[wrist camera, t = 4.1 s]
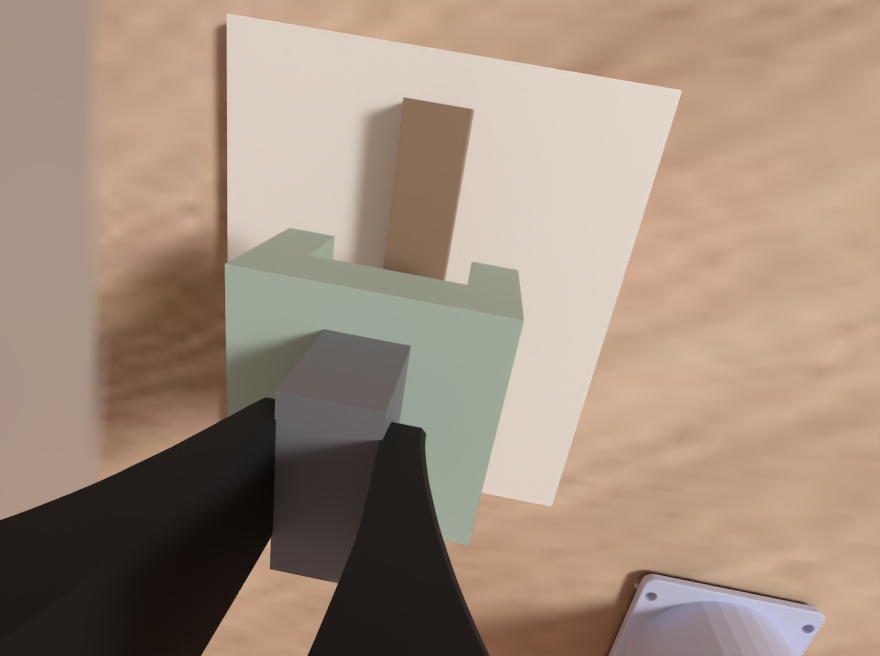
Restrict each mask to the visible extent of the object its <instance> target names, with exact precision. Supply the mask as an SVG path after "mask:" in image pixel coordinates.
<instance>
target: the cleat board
mask: <svg viewBox="0 0 880 656" xmlns="http://www.w3.org/2000/svg"><path fill="white" fill-rule="evenodd" d="M681 93H682V90H677V89H671V88H665V87H659V86H653V85H647V84H641V83H636V82H630V81H624V80H618V79H612V78H606V77H600V76H594V75H588V74H582V73H576V72H570V71H565V70H559V69H553V68H547V67H541V66H535V65H529V64H523V63H517V62H511V61H505V60H499V59H494V58H488V57H482V56H476V55H470V54H464V53H458V52H452V51H446V50H440V49H434V48H429V47H423V46H417V45H411V44H405V43H399V42H393V41H387V40H381V39H375V38H369V37H363V36H358V35H352V34H346V33H340V32H334V31H328V30H322V29H316V28H310V27H304V26H298V25H292V24H287V23H281V22H275V21H269V20H263V19H257V18H251V17H245V16H239V15H233V14H227V235H228V262H229V261H231V260H233V259H235V258H236V257H238V256H240V255H242V254H243V253H245V252H247V251H249V250H251V249H252V248H254V247H256V246H258V245H260V244H261V243H263V242H265V241H267V240H269V239H270V238H272V237H274V236H276V235H278V234H279V233H281V232H283V231H285V230H287V229H288V228H293V229H299V230H304V231H309V232H315V233H320V234H326V235H331V236H335V239H334V252H333V260H337V261H343V262H348V263H354V264H359V265H364V266H370V267H375V268H380V269H386V270H391V271H396V272H402V273H407V274H412V275H418V276H423V277H428V278H434V279H439V280H444V281H450V282H455V283H461V284H466V285H467V284H468V279H469V273H470V268H471V263H472V262H477V263H482V264H488V265H493V266H498V267H504V268H509V269H515V270H518V274H519V282H520V291H521V299H522V307H523V316H524V323H523V327H522V331H521V335H520V339H519V343H518V347H517V351H516V355H515V359H514V363H513V367H512V371H511V375H510V379H509V383H508V387H507V392H506V396H505V400H504V404H503V408H502V412H501V416H500V420H499V424H498V428H497V432H496V436H495V440H494V444H493V448H492V452H491V456H490V460H489V464H488V468H487V472H486V477H485V481H484V485H483V489H482V493H485V494H490V495H495V496H500V497H505V498H510V499H515V500H520V501H525V502H530V503H535V504H540V505H545V506H550V507H552V504H553V501H554V498H555V494H556V491H557V488H558V485H559V482H560V479H561V475H562V472H563V469H564V466H565V463H566V459H567V456H568V453H569V450H570V447H571V443H572V440H573V437H574V434H575V431H576V427H577V424H578V421H579V418H580V415H581V412H582V408H583V405H584V402H585V399H586V396H587V392H588V389H589V386H590V383H591V380H592V376H593V373H594V370H595V367H596V364H597V360H598V357H599V354H600V351H601V348H602V345H603V341H604V338H605V335H606V332H607V329H608V325H609V322H610V319H611V316H612V313H613V309H614V306H615V303H616V300H617V297H618V294H619V290H620V287H621V284H622V281H623V278H624V274H625V271H626V268H627V265H628V262H629V258H630V255H631V252H632V249H633V246H634V242H635V239H636V236H637V233H638V230H639V227H640V223H641V220H642V217H643V214H644V211H645V207H646V204H647V201H648V198H649V195H650V191H651V188H652V185H653V182H654V179H655V175H656V172H657V169H658V166H659V163H660V160H661V156H662V153H663V150H664V147H665V144H666V140H667V137H668V134H669V131H670V128H671V124H672V121H673V118H674V115H675V112H676V109H677V105H678V102H679V99H680V96H681Z"/></svg>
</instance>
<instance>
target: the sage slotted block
mask: <svg viewBox="0 0 880 656" xmlns="http://www.w3.org/2000/svg"><path fill="white" fill-rule="evenodd" d="M334 239H335V236H331V235H326V234H320V233H315V232H309V231H304V230H299V229H293V228H288V229H287V230H285V231H283V232H281V233H279V234H278V235H276V236H274V237H272V238H270V239H269V240H267V241H265V242H263V243H261V244H260V245H258V246H256V247H254V248H252V249H251V250H249V251H247V252H245V253H243V254H242V255H240V256H238V257H236V258H235V259H233V260H231V261H229V262H227V263H226V264H225V317H226V385H227V417H229V416H231V415H232V414H234V413H236V412H238V411H240V410H242V409H243V408H245V407H247V406H249V405H251V404H253V403H255V402H257V401H259V400H261V399H263V398H265V397H268V398H273V399H275V419H276V444H275V476H274V509H273V534H272V536H271V552H270V569H273V570H277V571H282V572H287V573H292V574H296V575H301V576H306V577H311V578H316V579H320V580H325V581H330V582H335V583H339V580H340V578H341V575H342V573H343V570H344V567H345V565H346V562H347V560H348V557H349V555H350V552H351V550H352V547H353V545H354V542H355V540H356V536H357V533H358V530H359V526H360V523H361V520H362V516H363V511H364V507H365V503H366V498H367V494H368V489H369V485H370V481H371V476H372V472H373V468H374V463H375V459H376V455H377V451H378V446H379V442H380V440H383V438H384V435H385V433H386V431H387V429H388V427H389V426H390V424H391V422H395V423H400V424H405V425H410V426H415V427H421V428H422V429H423V430H424V431H425V433H426V434H427V435H426V442H425V453H426V464H427V471H428V478H429V484H430V489H431V493H432V498H433V502H434V507H435V511H436V515H437V519H438V523H439V527H440V530H441V533H442V537H443V540H444V541H448V542H453V543H457V544H462V545H467V546H468V545H469V541H470V537H471V533H472V529H473V525H474V521H475V517H476V513H477V509H478V505H479V501H480V497H481V493H482V489H483V485H484V481H485V477H486V472H487V468H488V464H489V460H490V456H491V452H492V448H493V444H494V440H495V436H496V432H497V428H498V424H499V420H500V416H501V412H502V408H503V404H504V400H505V396H506V392H507V387H508V383H509V379H510V375H511V371H512V367H513V363H514V359H515V355H516V351H517V347H518V343H519V339H520V335H521V331H522V327H523V323H524V316H523V307H522V299H521V291H520V282H519V274H518V270H515V269H509V268H504V267H498V266H493V265H488V264H482V263H477V262H472V263H471V268H470V273H469V279H468V284H467V285H466V284H461V283H455V282H450V281H444V280H439V279H434V278H428V277H423V276H418V275H412V274H407V273H402V272H396V271H391V270H386V269H380V268H375V267H370V266H364V265H359V264H354V263H348V262H343V261H337V260H333V252H334Z"/></svg>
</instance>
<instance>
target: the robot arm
mask: <svg viewBox="0 0 880 656" xmlns="http://www.w3.org/2000/svg"><path fill="white" fill-rule="evenodd" d="M426 435H427V434H426V433H425V431H424V430H423V429H422V428H421V427H415V426H410V425H405V424H400V423H395V422H391V424H390V426H389V427H388V429H387V431H386V433H385V435H384V438H383V440H380V442H379V446H378V451H377V455H376V459H375V463H374V468H373V472H372V476H371V481H370V485H369V489H368V494H367V498H366V503H365V507H364V511H363V516H362V520H361V523H360V526H359V530H358V533H357V536H356V540H355V542H354V545H353V547H352V550H351V552H350V555H349V557H348V560H347V562H346V565H345V567H344V570H343V573H342V575H341V578H340V580H339V583H338V585H337V588H336V590H335V592H334V595H333V597H332V600H331V602H330V604H329V607H328V609H327V612H326V614H325V616H324V619H323V621H322V623H321V626H320V628H319V631H318V633H317V635H316V638H315V640H314V642H313V645H312V647H311V649H310V651H309V654H308V656H490V655H489V653H488V651H487V649H486V647H485V645H484V643H483V641H482V639H481V637H480V634H479V632H478V630H477V627H476V625H475V623H474V621H473V618H472V616H471V614H470V611H469V609H468V607H467V604H466V602H465V599H464V597H463V594H462V592H461V589H460V587H459V584H458V582H457V579H456V576H455V573H454V571H453V568H452V565H451V562H450V559H449V556H448V553H447V550H446V547H445V543H444V540H443V537H442V533H441V530H440V527H439V523H438V519H437V515H436V511H435V507H434V502H433V498H432V493H431V489H430V484H429V478H428V471H427V464H426V453H425V442H426ZM275 444H276V419H275V399H273V398H268V397H265V398H263V399H261V400H259V401H257V402H255V403H253V404H251V405H249V406H247V407H245V408H243V409H242V410H240V411H238V412H236V413H234V414H232V415H231V416H229V417H227V418H225V419H223V420H221V421H220V422H218V423H216V424H214V425H212V426H210V427H208V428H207V429H205V430H203V431H201V432H199V433H197V434H195V435H193V436H192V437H190V438H188V439H186V440H184V441H182V442H180V443H178V444H176V445H175V446H173V447H171V448H169V449H167V450H165V451H162V452H160V453H158V454H156V455H154V456H152V457H150V458H148V459H146V460H144V461H142V462H139V463H137V464H135V465H133V466H131V467H129V468H127V469H125V470H123V471H121V472H119V473H117V474H114V475H112V476H110V477H108V478H106V479H104V480H101V481H99V482H97V483H94V484H92V485H90V486H88V487H85V488H83V489H80V490H78V491H76V492H73V493H71V494H68V495H66V496H63V497H61V498H58V499H55V500H53V501H51V502H48V503H45V504H43V505H41V506H38V507H35V508H33V509H30V510H27V511H25V512H22V513H19V514H17V515H14V516H11V517H8V518H5V519H2V520H0V656H201V655H202V653H203V651H204V650H205V648H206V646H207V645H208V643H209V641H210V640H211V638H212V636H213V635H214V633H215V631H216V630H217V628H218V626H219V624H220V623H221V621H222V619H223V618H224V616H225V614H226V613H227V611H228V609H229V608H230V606H231V604H232V603H233V601H234V599H235V598H236V596H237V594H238V593H239V591H240V589H241V587H242V586H243V584H244V582H245V581H246V579H247V577H248V576H249V574H250V572H251V571H252V569H253V567H254V565H255V564H256V562H257V560H258V559H259V557H260V555H261V553H262V552H263V550H264V548H265V547H266V545H267V543H268V541H269V540H270V538H271V536H272V534H273V509H274V476H275ZM824 620H825V618H824V616H823V614H822V613H821V611H820V610H819V609H818V608H817V607H814V606H809V605H804V604H799V603H795V602H790V601H785V600H780V599H775V598H770V597H765V596H760V595H755V594H750V593H745V592H740V591H735V590H731V589H726V588H721V587H716V586H711V585H706V584H701V583H696V582H691V581H686V580H681V579H676V578H671V577H667V576H662V575H657V574H649V575H646V576H644V577H643V578H642V580H641V582H640V584H639V586H638V589H637V591H636V593H635V596H634V598H633V600H632V602H631V605H630V607H629V609H628V612H627V614H626V616H625V619H624V621H623V623H622V626H621V628H620V630H619V633H618V635H617V637H616V639H615V642H614V644H613V646H612V649H611V651H610V653H609V656H802V655H803V654H804V652H805V650H806V649H807V647H808V646H809V644H810V643H811V641H812V640H813V638H814V637H815V635H816V634H817V632H818V631H819V629H820V628H821V626H822V625H823V623H824Z"/></svg>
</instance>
